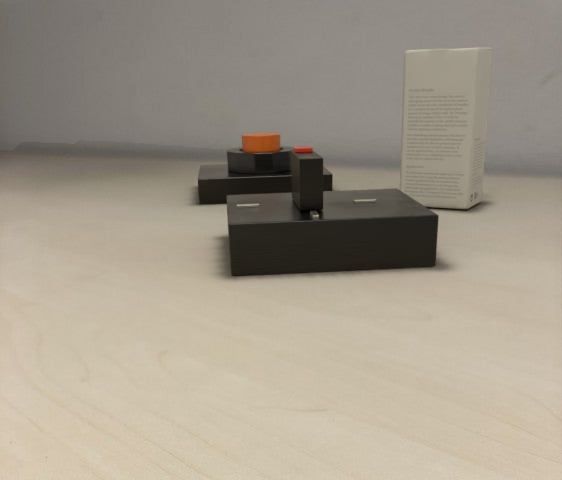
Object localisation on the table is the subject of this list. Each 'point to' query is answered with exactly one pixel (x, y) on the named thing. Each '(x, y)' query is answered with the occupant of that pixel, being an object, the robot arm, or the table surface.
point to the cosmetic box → (445, 125)
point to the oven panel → (330, 232)
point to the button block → (250, 175)
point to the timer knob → (307, 178)
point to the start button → (261, 142)
